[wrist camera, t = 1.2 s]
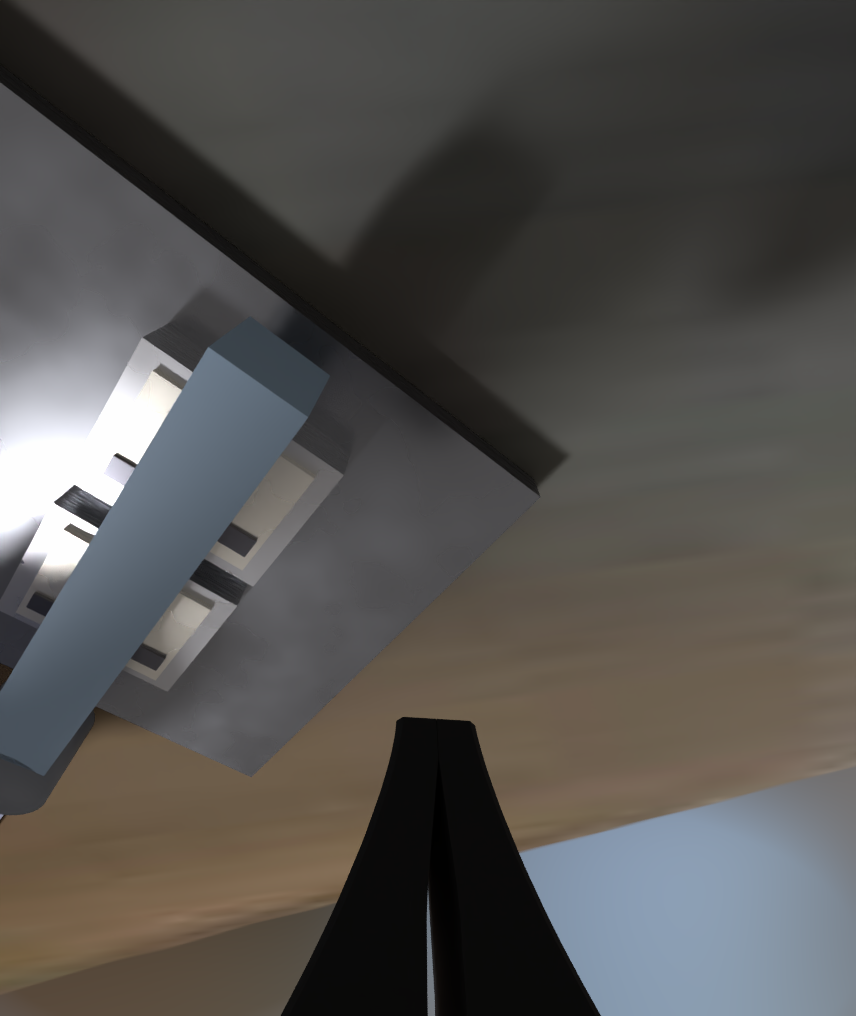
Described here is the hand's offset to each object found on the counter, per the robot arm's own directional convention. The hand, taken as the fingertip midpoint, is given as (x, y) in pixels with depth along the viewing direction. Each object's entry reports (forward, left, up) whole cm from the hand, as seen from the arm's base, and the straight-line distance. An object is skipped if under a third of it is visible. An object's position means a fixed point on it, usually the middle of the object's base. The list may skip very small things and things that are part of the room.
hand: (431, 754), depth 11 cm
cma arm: (-6, +6, -6) cm, 11 cm away
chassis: (-6, +7, -10) cm, 14 cm away
